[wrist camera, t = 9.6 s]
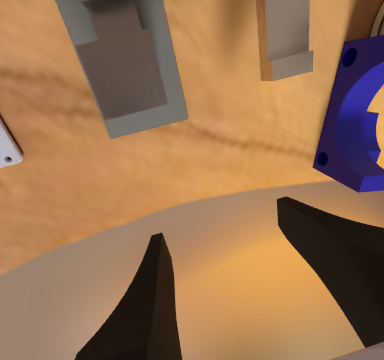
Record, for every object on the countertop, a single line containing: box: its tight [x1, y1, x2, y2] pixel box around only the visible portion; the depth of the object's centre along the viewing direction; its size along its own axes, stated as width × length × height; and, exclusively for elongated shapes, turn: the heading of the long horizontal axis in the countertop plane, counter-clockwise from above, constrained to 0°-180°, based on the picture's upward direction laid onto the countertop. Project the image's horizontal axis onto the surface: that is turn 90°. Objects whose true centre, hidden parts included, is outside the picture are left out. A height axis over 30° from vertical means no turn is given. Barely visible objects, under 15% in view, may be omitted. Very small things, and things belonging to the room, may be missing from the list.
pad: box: [56, 0, 189, 139], centre depth 17 cm, size 7×12×1 cm, turn 13°
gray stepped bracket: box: [75, 0, 168, 120], centre depth 13 cm, size 4×8×7 cm, turn 12°
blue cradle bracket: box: [313, 35, 384, 192], centre depth 20 cm, size 12×4×6 cm, turn 0°
